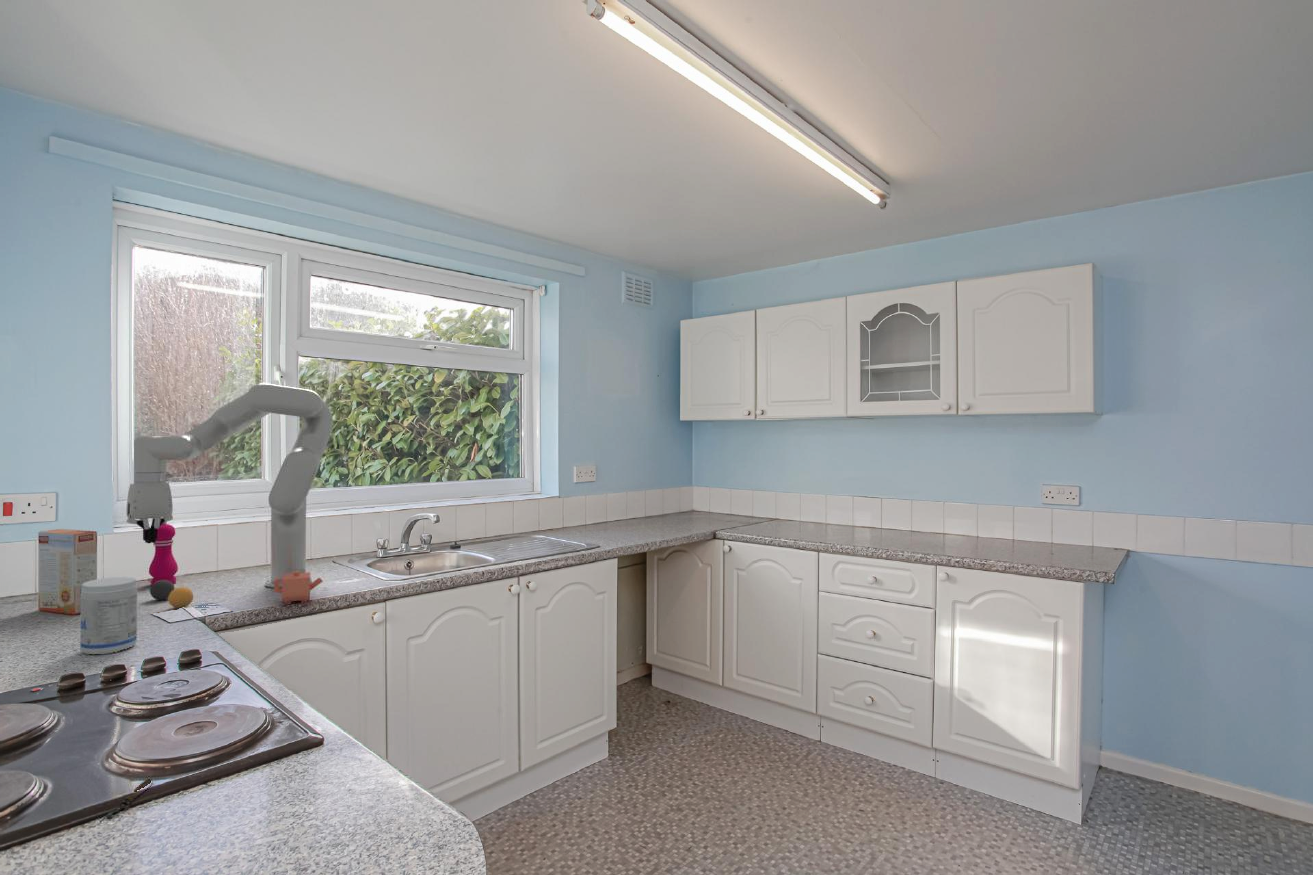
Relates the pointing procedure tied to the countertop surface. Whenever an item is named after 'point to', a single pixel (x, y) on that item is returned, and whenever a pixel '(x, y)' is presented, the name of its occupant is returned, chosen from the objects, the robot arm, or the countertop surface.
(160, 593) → the dark grey ball
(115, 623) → the supplement tub
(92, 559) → the cracker box
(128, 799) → the can opener
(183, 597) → the orange ball
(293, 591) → the pink cube teapot
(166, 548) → the pepper mill
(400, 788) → the countertop surface
